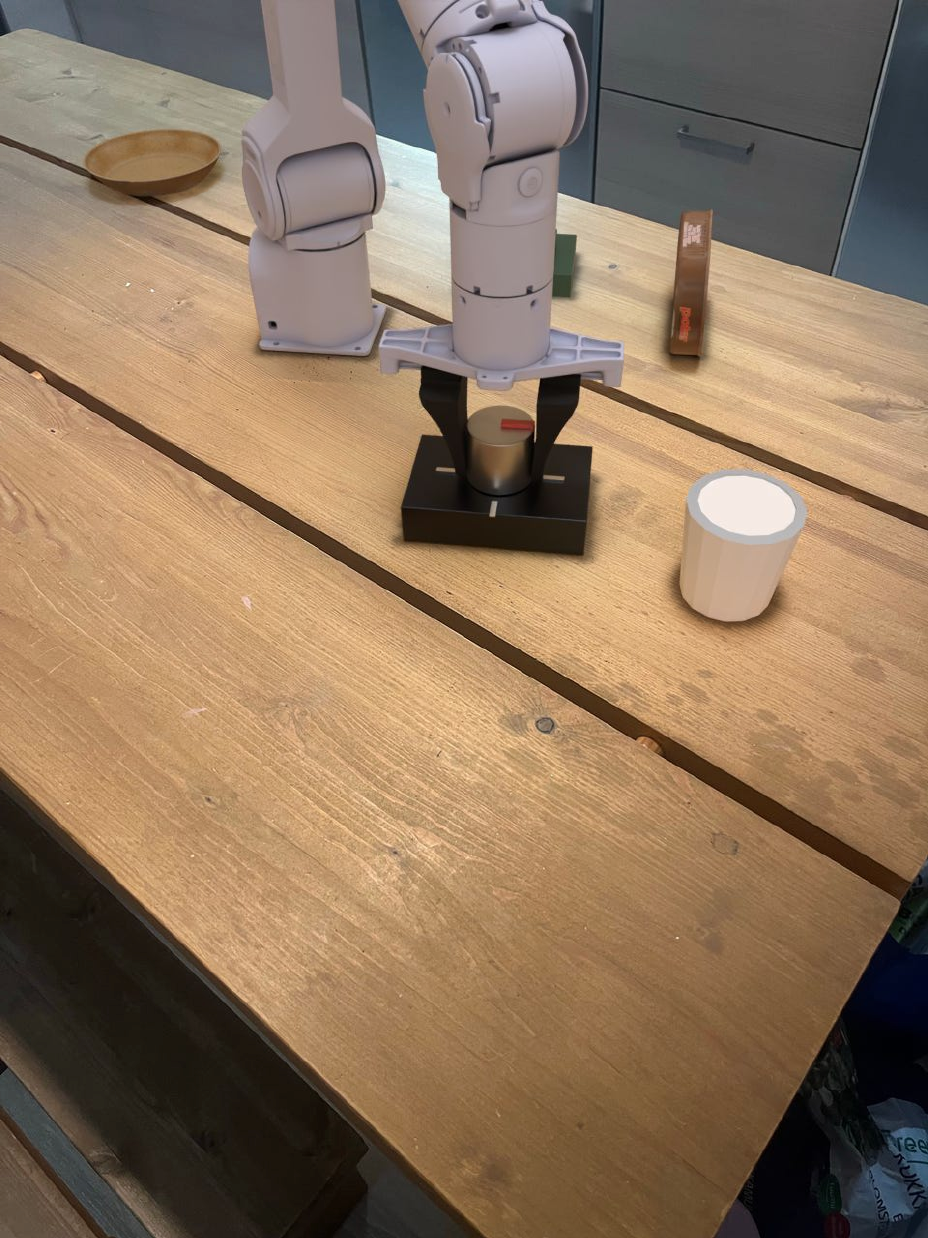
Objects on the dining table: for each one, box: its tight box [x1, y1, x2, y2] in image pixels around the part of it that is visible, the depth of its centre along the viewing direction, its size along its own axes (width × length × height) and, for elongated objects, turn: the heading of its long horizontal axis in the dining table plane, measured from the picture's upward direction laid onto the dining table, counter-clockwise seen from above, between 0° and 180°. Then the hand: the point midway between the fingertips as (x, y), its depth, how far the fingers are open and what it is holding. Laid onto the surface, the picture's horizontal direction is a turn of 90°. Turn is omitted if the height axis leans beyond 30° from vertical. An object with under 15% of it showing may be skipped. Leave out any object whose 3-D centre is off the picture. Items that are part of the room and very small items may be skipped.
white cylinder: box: [679, 468, 808, 622], centre depth 58 cm, size 7×7×7 cm
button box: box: [552, 228, 578, 298], centre depth 88 cm, size 10×8×4 cm
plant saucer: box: [82, 128, 222, 197], centre depth 105 cm, size 15×15×3 cm
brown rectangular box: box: [668, 209, 714, 357], centre depth 79 cm, size 15×3×8 cm, turn 168°
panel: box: [400, 434, 594, 556], centre depth 65 cm, size 12×9×3 cm
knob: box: [466, 405, 536, 495], centre depth 62 cm, size 4×4×4 cm
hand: (499, 468), depth 63 cm, fingers closed on knob, 4 cm apart
